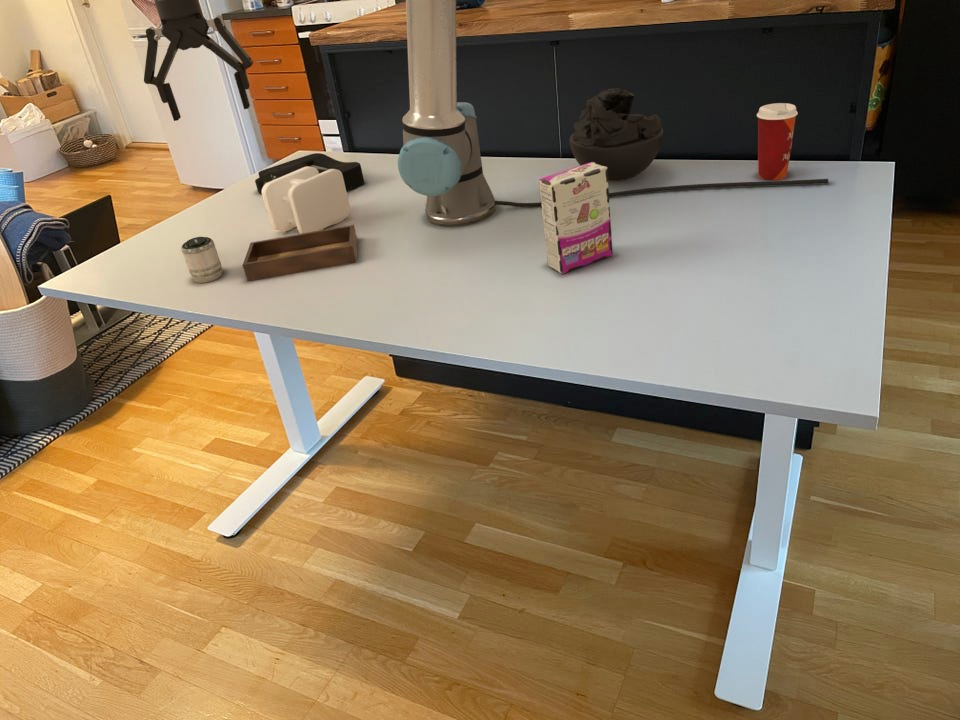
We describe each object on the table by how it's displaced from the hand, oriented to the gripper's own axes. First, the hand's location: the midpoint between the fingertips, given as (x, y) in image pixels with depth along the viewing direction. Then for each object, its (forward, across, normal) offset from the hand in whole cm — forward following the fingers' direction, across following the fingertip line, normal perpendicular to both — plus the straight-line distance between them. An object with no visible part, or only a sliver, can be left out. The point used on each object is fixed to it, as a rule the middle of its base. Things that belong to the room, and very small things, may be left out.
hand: (212, 113), depth 145 cm
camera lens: (+29, +8, +11) cm, 32 cm away
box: (+29, -12, +11) cm, 33 cm away
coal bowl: (+29, -81, -5) cm, 86 cm away
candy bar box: (+29, -63, +34) cm, 77 cm away
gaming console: (+29, -10, -36) cm, 47 cm away
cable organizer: (+29, -12, -8) cm, 32 cm away
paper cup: (+29, -110, +10) cm, 114 cm away
